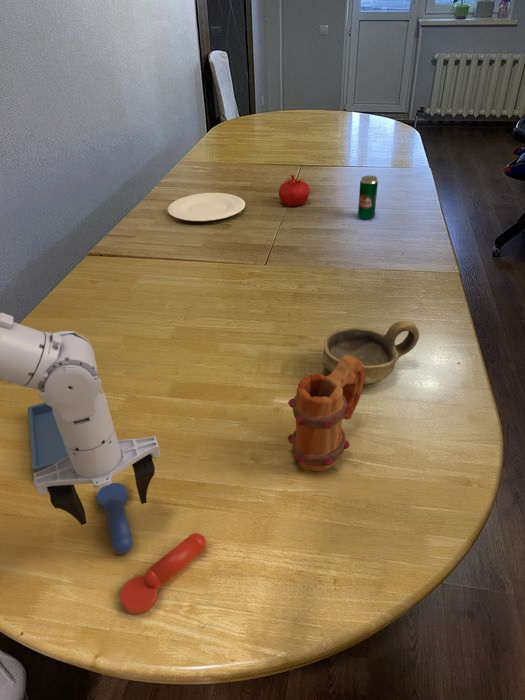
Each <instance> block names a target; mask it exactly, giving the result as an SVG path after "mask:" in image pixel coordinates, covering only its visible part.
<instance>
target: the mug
mask: <svg viewBox="0 0 525 700" xmlns="http://www.w3.org/2000/svg"><path fill="white" fill-rule="evenodd" d="M364 379H365V371H364V366H363V364H362V362H361V361H360V360H358V359H356V358H355V357H352V356H350V355H345V356H344V357H343V358H341V360H340V361H339V363H338V365H337V366H336V368H335V370H334V371H333V372H330V374H328V375H323V374H322V373H320V372H319V373H312V374H310V375H309V376H305V377H303V378H302V379H300V381H299V383H298V384H297V388H296V394H295V396H294V397H293V398H291V399H289V400H288V401H287V404H288V406H289V407H290V408H291V409H292V413H293V416H294V419H295V430H294V432H293V433H292V434H289V435H288V436H287V441H288V442H289V444H291V447H292V452H293V454H294V456H295V460H296V462H297V463H298V465H300V466H301V467H304V468H305V469H308V470H311V471H316V472H319V471H325V470H327V469H330V468H331V467H333V466H335V465H336V463H337V462H338V461H339V460H340V458H341V457H342V456H343V454H344V453H345V450H347V449H349V447H350V441H348V440H347V439H346V433H345V431H344V429H343V420H351V419H352V417H353V414H354V412H355V409H356V407H357V405H358V403H359V401H360V399H361V395H362V392H363V389H364V385H365V384H364Z"/></svg>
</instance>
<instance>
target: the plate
mask: <svg viewBox="0 0 525 700" xmlns="http://www.w3.org/2000/svg"><path fill="white" fill-rule="evenodd" d="M245 208H246V201H245V200H244V199H242V198H241V197H240V196H237V195H234V194H231V193H225V192H201V193H196V194H189V195H186V196H182V197H180V198H178V199H175V200H174V201H172V202H171V203H170V204H168V206H167V213H168V214H169V215H170V216H171V217H173V218H174V219H177V220H181V221H186V222H194V223H195V222H198V223H200V222H204V223H205V222H215V221H219V220H224V219H228V218H231V217H234V216H236V215H238V214H240V213H241V212H242V211H244V210H245Z"/></svg>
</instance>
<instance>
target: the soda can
mask: <svg viewBox="0 0 525 700" xmlns="http://www.w3.org/2000/svg"><path fill="white" fill-rule="evenodd" d="M378 184H379V181H378V177H377V176H375V175H371V174H370V175H363V176H361V179H360V181H359V194H358V207H357V217H358V218H359V219H361V220H365V221H369V220H372V219H374V217H375V216H376V215H375V214H376V206H377V194H378V186H379V185H378Z"/></svg>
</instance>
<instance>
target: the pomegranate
mask: <svg viewBox="0 0 525 700" xmlns="http://www.w3.org/2000/svg"><path fill="white" fill-rule="evenodd" d="M282 182H283V183H282V184H281V185H280V187H279V189H278V198H279V199H280V201H281V203H282V204H283V205H285V206H286V207H297V206H303V205H304V204H305V203H306V202H308V199H309V197H310V193H311V188H310V186H309V185H310V184H308V183H307V182H306V181H305V179H301V178H300V179H299V177H296V178H295V174H290V178H289V177H288V178H286V180H283V181H282Z"/></svg>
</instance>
